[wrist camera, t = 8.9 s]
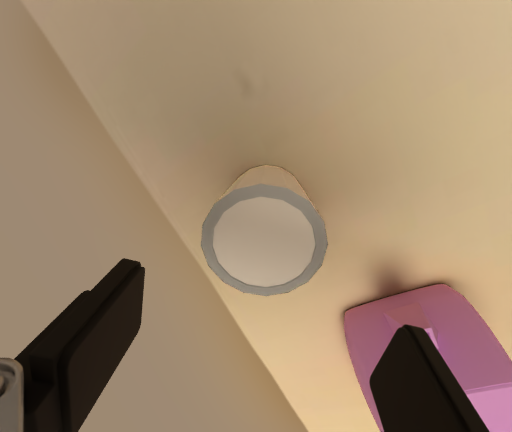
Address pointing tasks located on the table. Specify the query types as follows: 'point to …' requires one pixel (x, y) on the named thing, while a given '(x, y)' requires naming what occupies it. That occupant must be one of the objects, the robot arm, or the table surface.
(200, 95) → the table surface
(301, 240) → the beige cup
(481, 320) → the teapot
